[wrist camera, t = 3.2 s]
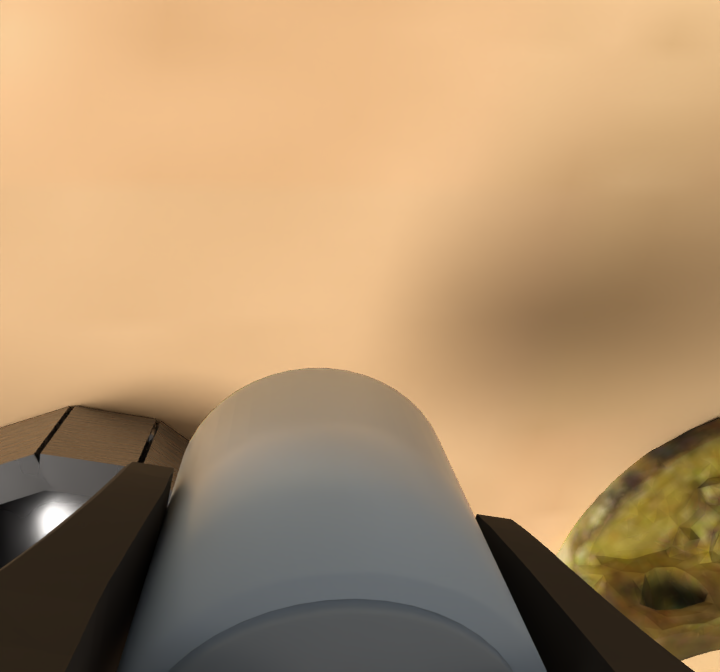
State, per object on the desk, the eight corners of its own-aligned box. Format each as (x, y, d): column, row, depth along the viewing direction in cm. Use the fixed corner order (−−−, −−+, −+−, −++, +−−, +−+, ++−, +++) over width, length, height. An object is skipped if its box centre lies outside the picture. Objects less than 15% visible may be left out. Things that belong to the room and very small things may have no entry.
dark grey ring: (220, 667, 21) (211, 739, 19) (-64, 640, 19) (-115, 714, 17) (271, 437, 18) (268, 487, 16) (-54, 385, 17) (-112, 431, 14)
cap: (408, 613, 12) (485, 937, 7) (159, 583, 12) (64, 927, 7) (479, 394, 11) (633, 620, 6) (201, 342, 10) (120, 556, 5)
